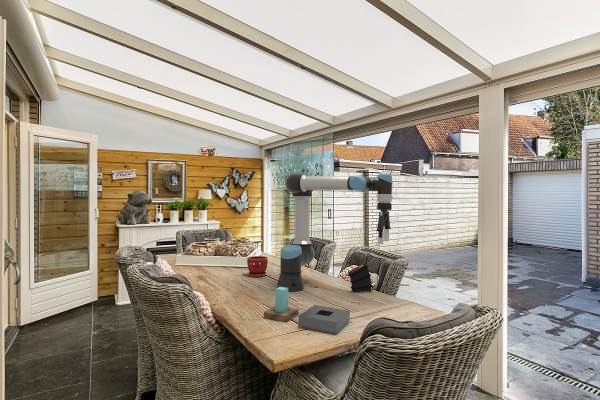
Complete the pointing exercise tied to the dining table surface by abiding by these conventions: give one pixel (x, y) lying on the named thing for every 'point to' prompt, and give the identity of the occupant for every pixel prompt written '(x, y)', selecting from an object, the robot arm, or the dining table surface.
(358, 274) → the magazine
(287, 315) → the brown flat piece
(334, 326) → the port
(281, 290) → the peg
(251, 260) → the plant pot
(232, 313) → the dining table surface
